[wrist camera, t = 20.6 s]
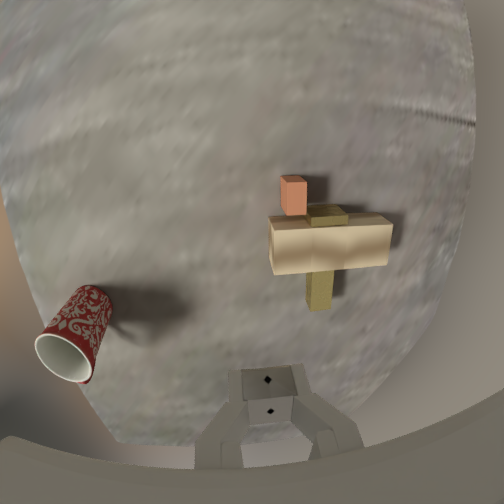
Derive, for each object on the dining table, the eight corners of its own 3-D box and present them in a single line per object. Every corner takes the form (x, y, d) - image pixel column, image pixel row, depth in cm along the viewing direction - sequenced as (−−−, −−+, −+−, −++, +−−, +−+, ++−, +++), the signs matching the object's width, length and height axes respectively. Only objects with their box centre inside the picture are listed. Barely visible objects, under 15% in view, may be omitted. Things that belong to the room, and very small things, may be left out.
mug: (65, 276, 40) (25, 328, 28) (114, 282, 41) (82, 341, 29) (79, 335, 46) (53, 390, 33) (123, 343, 47) (104, 402, 35)
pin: (301, 205, 39) (311, 217, 35) (335, 203, 39) (348, 215, 35) (300, 300, 46) (307, 318, 41) (329, 296, 46) (338, 314, 42)
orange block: (280, 176, 37) (286, 182, 33) (299, 175, 37) (307, 182, 33) (280, 205, 38) (286, 215, 35) (298, 204, 39) (306, 214, 35)
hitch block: (268, 216, 39) (274, 230, 35) (376, 212, 40) (393, 224, 36) (269, 257, 42) (274, 275, 37) (372, 249, 43) (386, 264, 38)
